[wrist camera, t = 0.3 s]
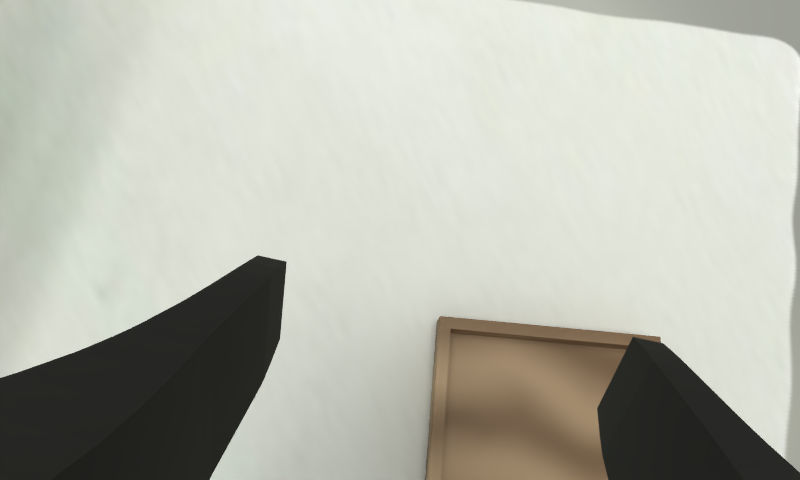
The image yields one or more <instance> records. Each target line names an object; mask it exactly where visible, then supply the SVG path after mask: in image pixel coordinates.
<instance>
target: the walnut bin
mask: <svg viewBox="0 0 800 480" xmlns="http://www.w3.org/2000/svg"><path fill="white" fill-rule="evenodd" d="M633 337H636V338H641V339H645V340H650V341H654V342H659V343H661V341H660V337H655V336H645V335H634V334H623V333H613V332H602V331H592V330H581V329H570V328H560V327H549V326H538V325H528V324H517V323H506V322H496V321H485V320H474V319H464V318H453V317H443V316H440V317H439V319H438V321H437V328H436V341H435V355H434V369H433V382H432V396H431V410H430V423H429V437H428V451H427V464H426V478H425V480H608V476H607V472H606V468H605V464H604V460H603V456H602V449H601V441H600V433H599V423H598V413H597V408H598V406H599V404H600V402H601V400H602V398H603V396H604V394H605V392H606V390H607V388H608V386H609V384H610V382H611V380H612V378H613V376H614V374H615V372H616V370H617V368H618V366H619V364H620V362H621V360H622V358H623V356H624V354H625V352H626V350H627V348H628V346H629V344H630V342H631V340H632V338H633Z"/></svg>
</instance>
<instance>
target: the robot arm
mask: <svg viewBox="0 0 800 480" xmlns="http://www.w3.org/2000/svg"><path fill="white" fill-rule="evenodd" d="M285 273H286V262H285V261H280V260H276V259H271V258H267V257H262V256H256V257H254V258H253V259H251V260H249V261H248V262H246V263H245V264H243V265H241V266H240V267H238V268H236V269H235V270H233V271H232V272H230V273H228V274H227V275H225V276H224V277H222V278H220V279H219V280H217V281H216V282H214V283H212V284H211V285H209V286H208V287H206V288H204V289H203V290H201V291H199V292H197V293H196V294H194V295H192V296H191V297H189V298H187V299H186V300H184V301H182V302H180V303H179V304H177V305H175V306H173V307H171V308H169V309H167V310H165V311H164V312H162V313H160V314H158V315H156V316H154V317H152V318H150V319H148V320H147V321H145V322H143V323H141V324H139V325H137V326H135V327H133V328H131V329H128V330H126V331H124V332H122V333H120V334H118V335H115V336H113V337H111V338H108V339H106V340H104V341H101V342H99V343H97V344H94V345H92V346H89V347H87V348H85V349H82V350H80V351H77V352H75V353H72V354H69V355H66V356H63V357H60V358H58V359H55V360H52V361H49V362H46V363H44V364H41V365H38V366H35V367H32V368H29V369H27V370H24V371H21V372H18V373H15V374H12V375H9V376H6V377H2V378H0V480H209V479H210V477H211V475H212V473H213V472H214V470H215V468H216V466H217V464H218V462H219V461H220V459H221V457H222V455H223V453H224V452H225V450H226V448H227V446H228V444H229V443H230V441H231V439H232V437H233V435H234V433H235V432H236V430H237V428H238V426H239V424H240V423H241V421H242V419H243V417H244V415H245V414H246V412H247V410H248V408H249V406H250V404H251V403H252V401H253V399H254V397H255V395H256V393H257V391H258V390H259V388H260V386H261V384H262V382H263V380H264V378H265V375H266V373H267V370H268V368H269V365H270V363H271V361H272V358H273V355H274V353H275V350H276V348H277V345H278V342H279V340H280V331H281V319H282V308H283V296H284V284H285ZM597 413H598V423H599V433H600V441H601V449H602V456H603V460H604V464H605V468H606V472H607V476H608V480H800V473H799V472H798V471H797V470H796V469H795V468H794V467H793V466H792V465H791V464H789V463H788V462H787V461H786V460H785V459H784V458H783V457H782V456H781V455H779V454H778V453H777V452H776V451H775V450H774V449H773V448H772V447H771V446H769V445H768V444H767V443H766V442H765V441H764V440H763V439H762V438H761V437H760V436H759V435H758V434H757V433H756V432H755V431H753V430H752V429H751V428H750V427H749V426H748V425H747V424H746V423H745V422H744V421H743V420H742V419H741V418H740V417H739V416H738V415H737V414H736V413H735V412H734V411H733V410H732V409H731V408H730V407H729V406H728V405H727V404H726V403H725V402H724V401H723V400H722V399H721V398H720V397H719V396H718V395H717V394H716V393H715V392H714V391H713V390H712V389H711V388H710V387H708V386H707V385H706V384H705V383H704V382H703V381H702V380H701V379H700V378H699V377H698V376H697V375H696V374H695V373H694V372H693V371H692V370H691V369H690V368H689V367H688V366H687V365H686V364H685V363H684V362H683V361H682V360H681V359H680V358H679V357H678V356H677V355H676V354H675V353H673V352H672V351H671V350H670V349H669V348H668V347H667V346H665V345H664V344H663V343H659V342H654V341H650V340H645V339H641V338H636V337H633V338H632V340H631V342H630V344H629V346H628V348H627V350H626V352H625V354H624V356H623V358H622V360H621V362H620V364H619V366H618V368H617V370H616V372H615V374H614V376H613V378H612V380H611V382H610V384H609V386H608V388H607V390H606V392H605V394H604V396H603V398H602V400H601V402H600V404H599V406H598V408H597Z"/></svg>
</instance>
